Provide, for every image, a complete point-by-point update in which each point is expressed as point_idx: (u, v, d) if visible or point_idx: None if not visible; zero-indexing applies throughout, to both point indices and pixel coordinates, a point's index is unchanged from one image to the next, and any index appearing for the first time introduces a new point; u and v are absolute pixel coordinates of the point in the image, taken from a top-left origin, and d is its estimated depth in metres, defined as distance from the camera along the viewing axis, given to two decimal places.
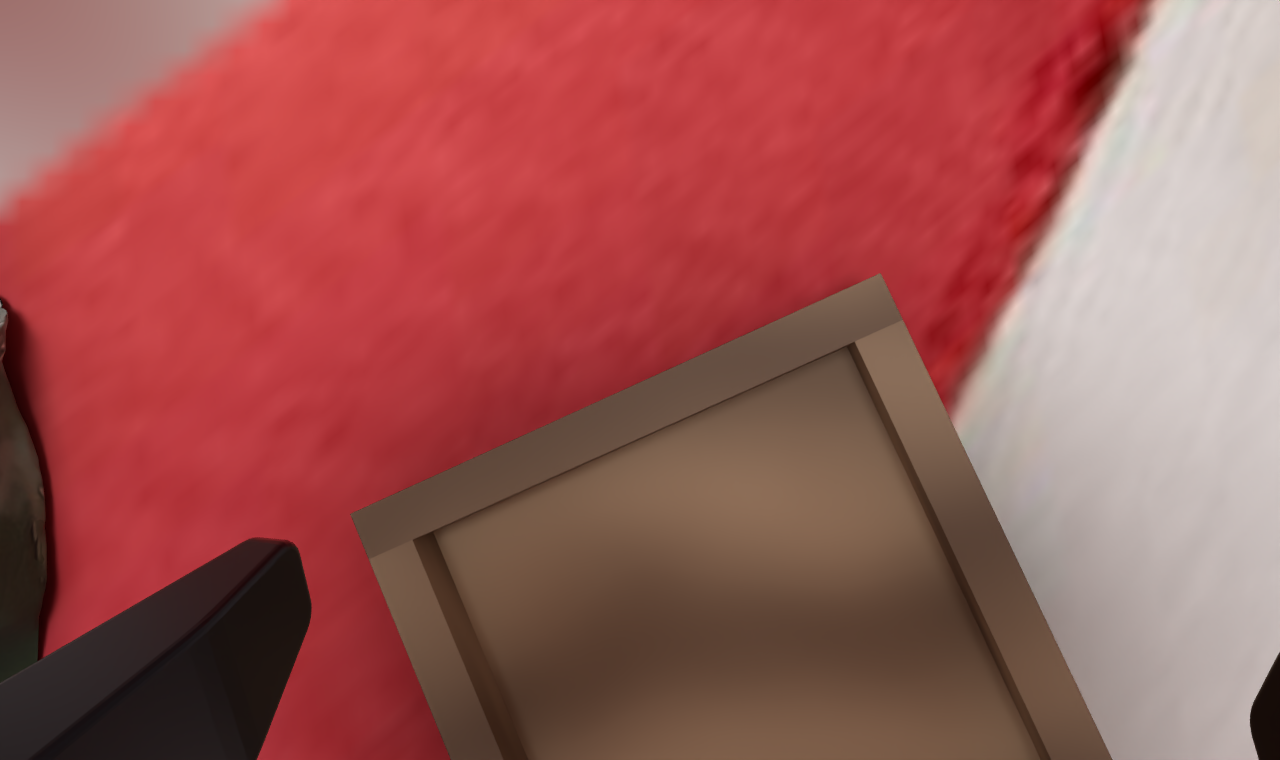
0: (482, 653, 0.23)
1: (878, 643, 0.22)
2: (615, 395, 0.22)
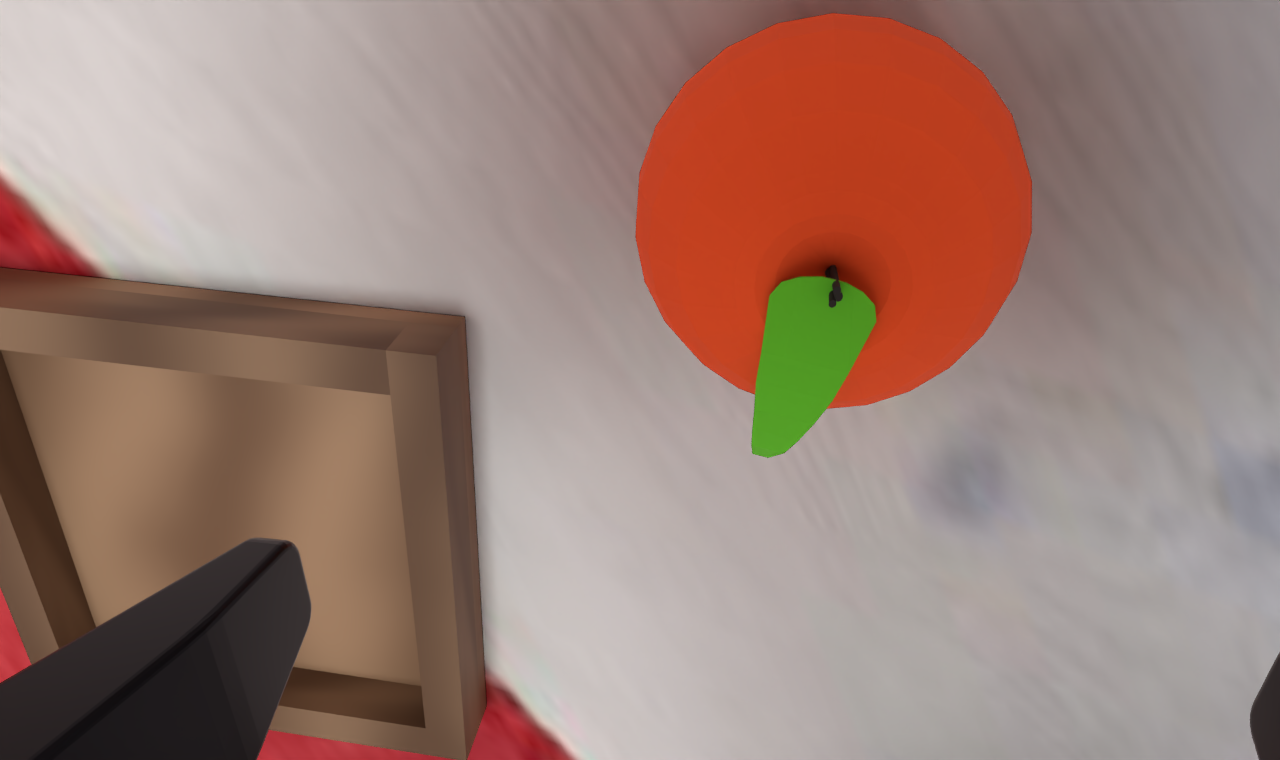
0: None
1: (252, 422, 0.24)
2: None
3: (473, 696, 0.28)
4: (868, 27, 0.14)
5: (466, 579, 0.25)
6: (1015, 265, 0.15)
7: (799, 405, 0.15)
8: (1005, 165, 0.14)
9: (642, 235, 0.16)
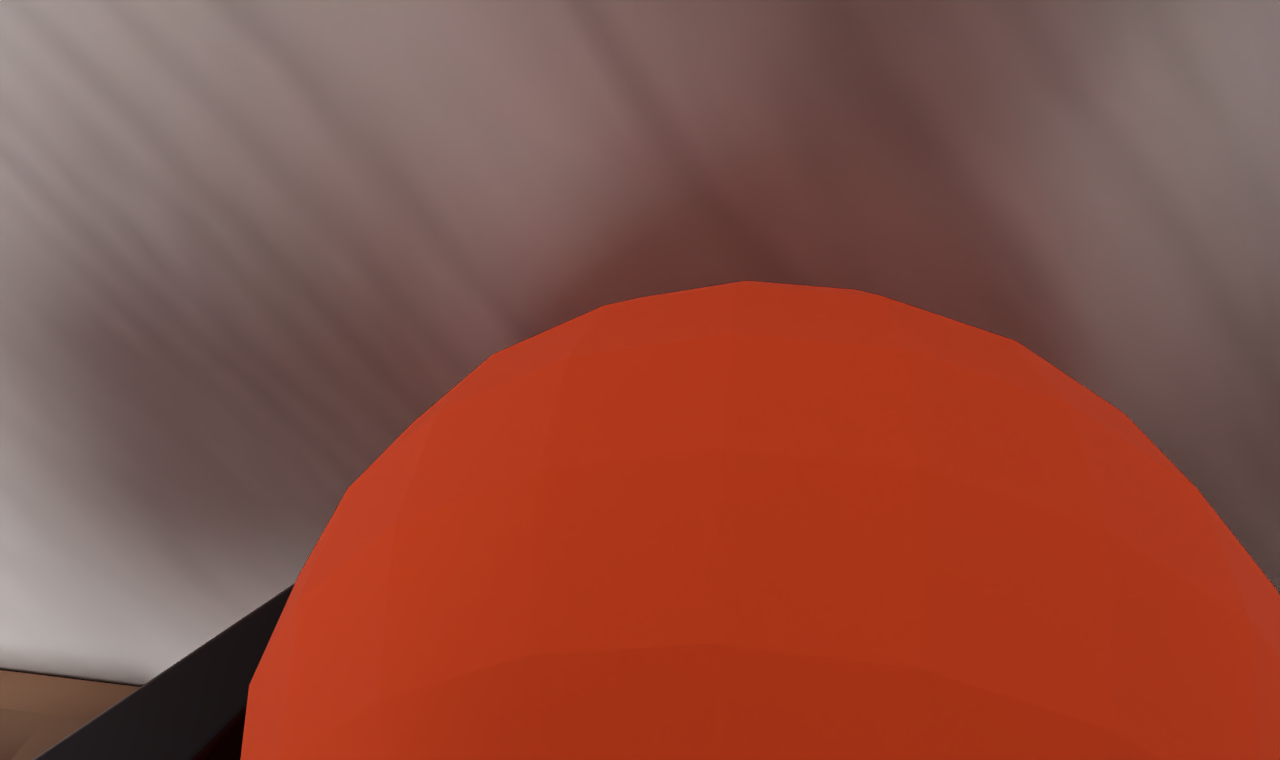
0: None
1: None
2: None
3: None
4: (837, 425, 0.04)
5: None
6: None
7: None
8: None
9: None
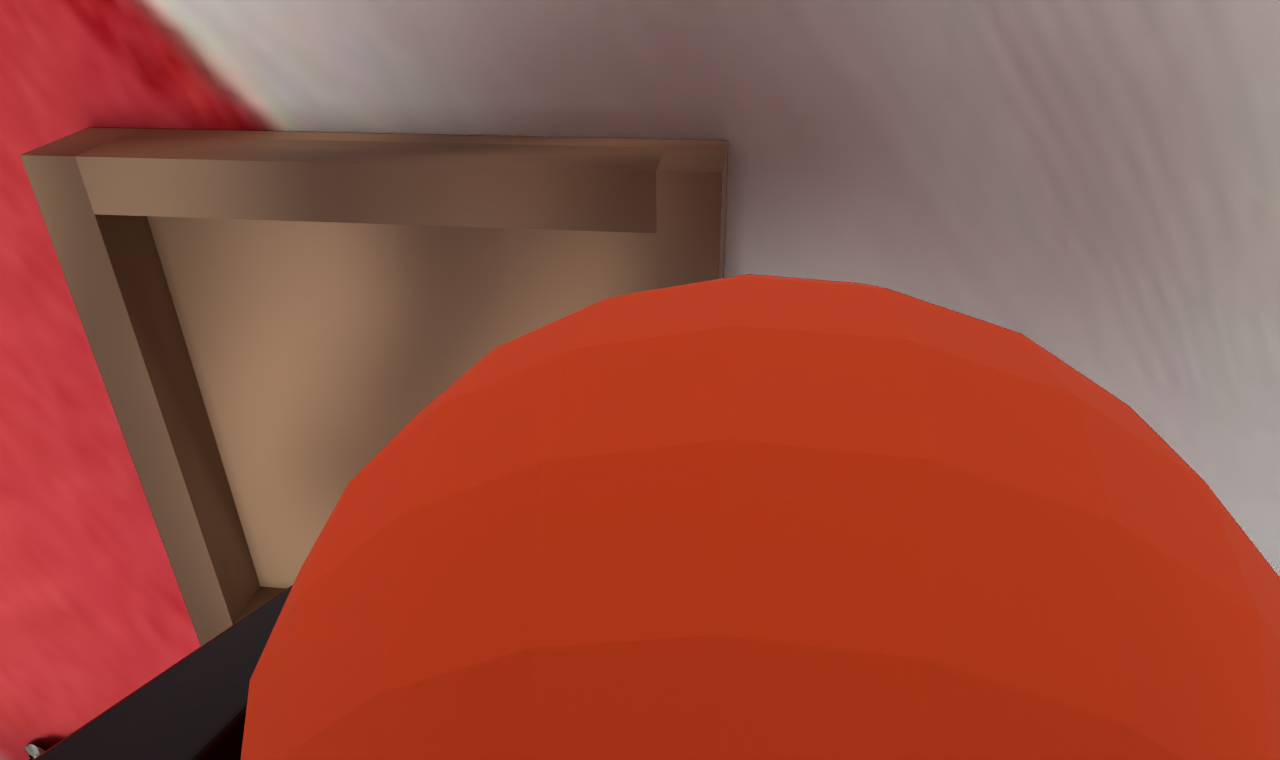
0: None
1: (456, 300, 0.20)
2: (126, 438, 0.22)
3: None
4: (841, 414, 0.04)
5: None
6: None
7: None
8: None
9: None
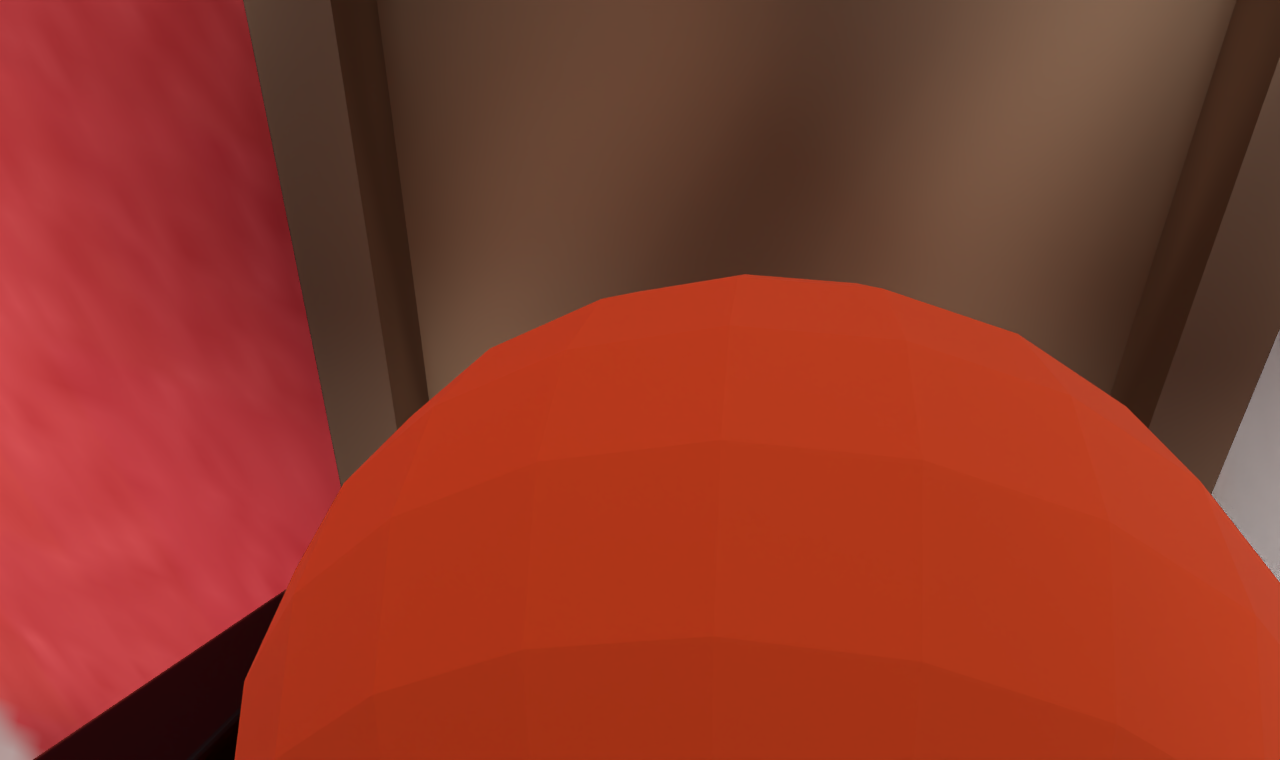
0: None
1: (857, 68, 0.13)
2: (305, 290, 0.14)
3: None
4: (838, 417, 0.04)
5: None
6: None
7: None
8: None
9: None
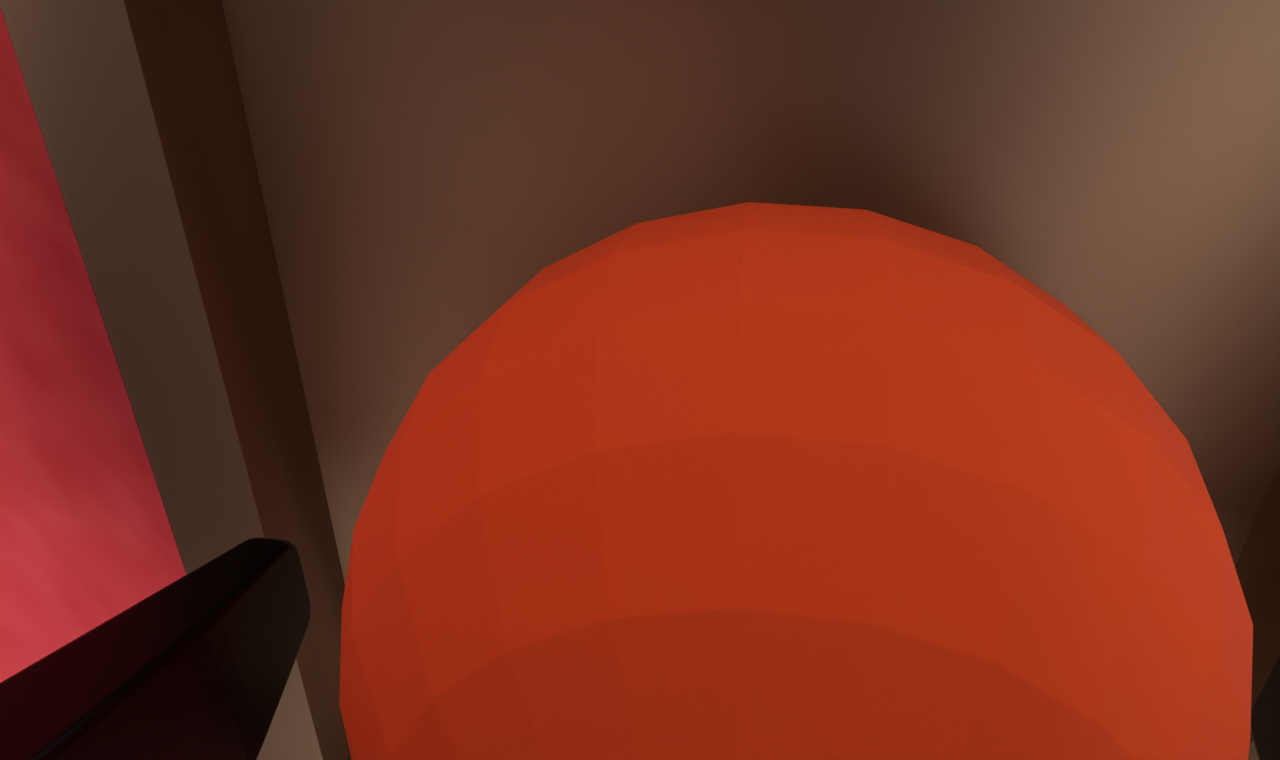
0: None
1: (898, 163, 0.09)
2: (150, 448, 0.10)
3: None
4: (827, 288, 0.05)
5: None
6: None
7: None
8: (1219, 671, 0.05)
9: None
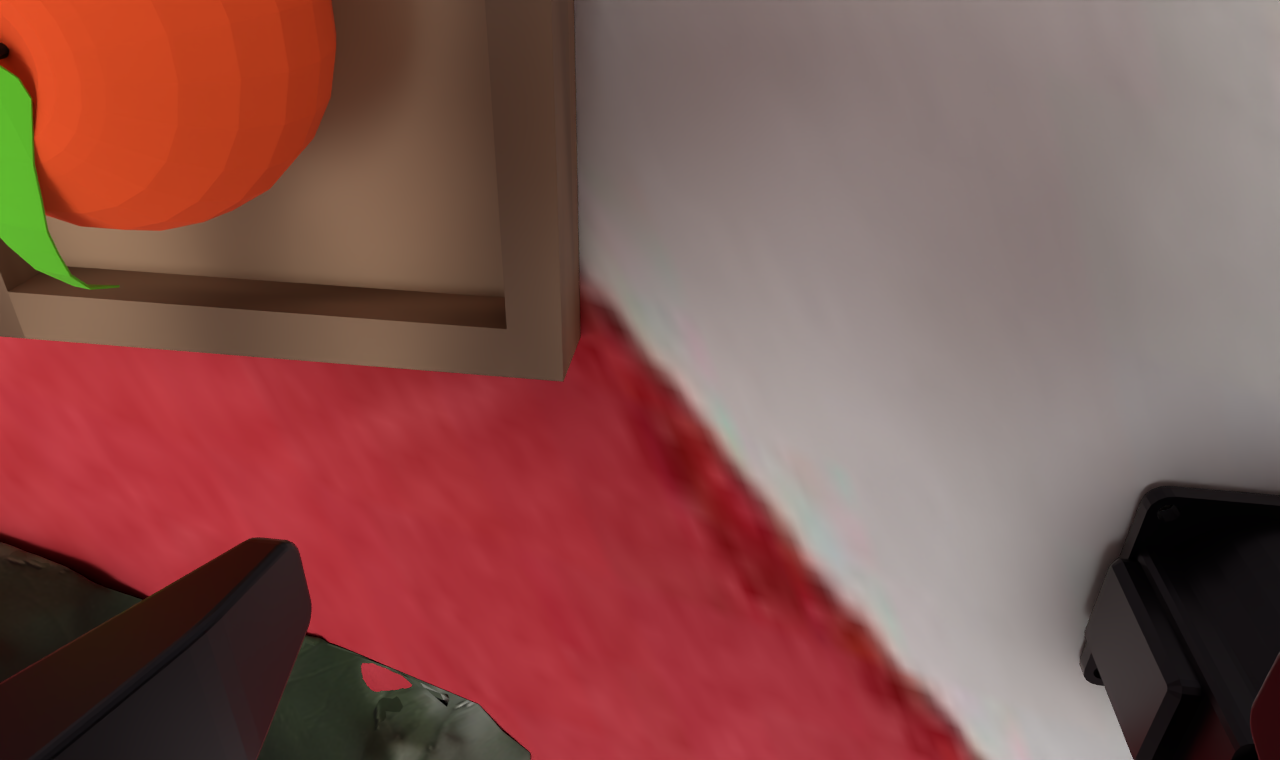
0: (183, 275, 0.21)
1: None
2: None
3: (569, 291, 0.20)
4: None
5: (564, 72, 0.17)
6: (231, 41, 0.13)
7: (16, 209, 0.13)
8: None
9: None
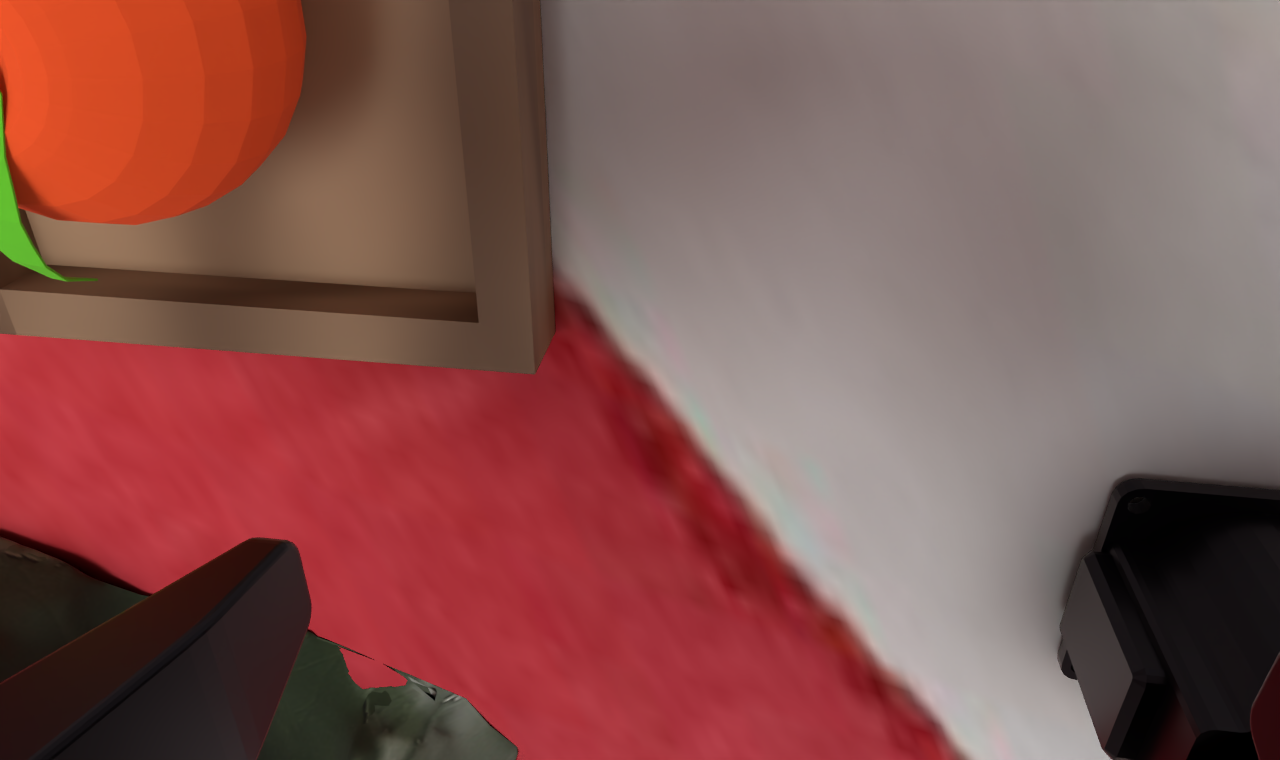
0: (169, 273, 0.22)
1: None
2: None
3: (541, 286, 0.20)
4: None
5: (530, 71, 0.18)
6: (194, 39, 0.14)
7: None
8: None
9: None
